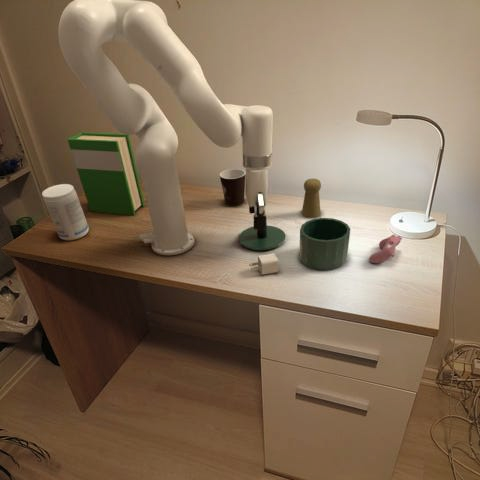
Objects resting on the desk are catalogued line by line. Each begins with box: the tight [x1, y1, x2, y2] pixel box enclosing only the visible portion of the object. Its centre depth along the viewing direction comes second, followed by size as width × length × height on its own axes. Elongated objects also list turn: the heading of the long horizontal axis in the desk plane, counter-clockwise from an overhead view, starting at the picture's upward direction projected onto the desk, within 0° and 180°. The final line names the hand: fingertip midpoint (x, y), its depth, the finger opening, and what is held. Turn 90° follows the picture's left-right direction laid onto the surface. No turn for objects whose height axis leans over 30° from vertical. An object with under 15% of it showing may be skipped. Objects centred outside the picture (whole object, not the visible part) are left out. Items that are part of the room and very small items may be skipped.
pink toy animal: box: [368, 233, 403, 264], centre depth 109 cm, size 10×5×7 cm, turn 148°
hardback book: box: [67, 131, 146, 216], centre depth 137 cm, size 18×7×24 cm, turn 71°
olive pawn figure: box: [301, 178, 322, 219], centre depth 129 cm, size 6×6×11 cm
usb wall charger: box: [248, 253, 279, 276], centre depth 108 cm, size 4×7×4 cm, turn 102°
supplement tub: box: [41, 183, 90, 241], centre depth 128 cm, size 10×10×15 cm
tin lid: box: [238, 218, 286, 251], centre depth 120 cm, size 14×14×7 cm
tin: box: [298, 217, 351, 271], centre depth 110 cm, size 13×13×8 cm
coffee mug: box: [219, 168, 246, 207], centre depth 141 cm, size 12×9×10 cm
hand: (257, 220), depth 118 cm, fingers open, 9 cm apart
